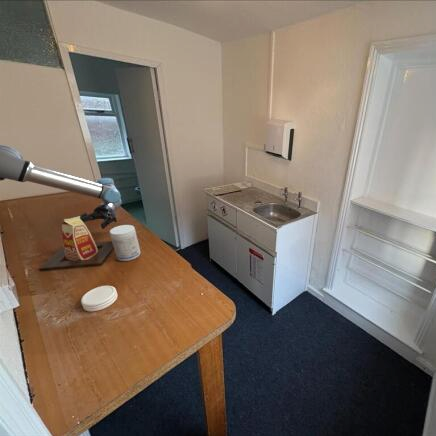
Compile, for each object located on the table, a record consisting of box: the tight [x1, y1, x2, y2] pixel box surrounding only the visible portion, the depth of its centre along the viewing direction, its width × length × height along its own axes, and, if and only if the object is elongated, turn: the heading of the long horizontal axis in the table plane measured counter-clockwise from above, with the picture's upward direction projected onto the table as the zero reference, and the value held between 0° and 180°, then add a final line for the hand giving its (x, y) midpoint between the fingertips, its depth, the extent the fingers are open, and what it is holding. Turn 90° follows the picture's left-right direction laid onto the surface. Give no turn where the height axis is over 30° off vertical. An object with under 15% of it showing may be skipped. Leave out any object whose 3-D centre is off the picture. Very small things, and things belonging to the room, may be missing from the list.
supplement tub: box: [109, 224, 141, 262], centre depth 108 cm, size 10×10×15 cm
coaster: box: [80, 285, 118, 312], centre depth 84 cm, size 10×10×4 cm
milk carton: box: [61, 215, 99, 261], centre depth 105 cm, size 9×9×20 cm
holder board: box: [38, 240, 115, 272], centre depth 109 cm, size 22×20×2 cm
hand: (85, 227), depth 112 cm, fingers open, 13 cm apart
